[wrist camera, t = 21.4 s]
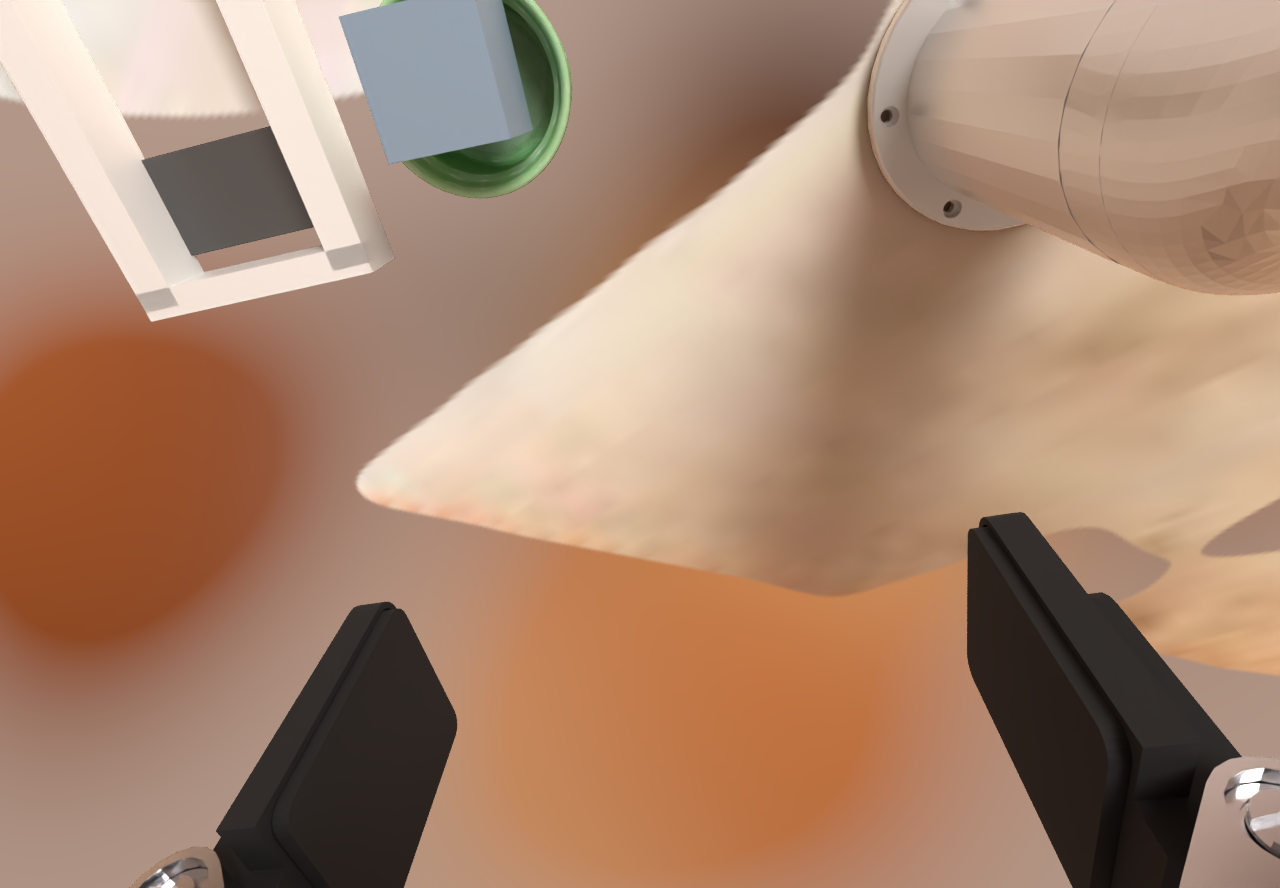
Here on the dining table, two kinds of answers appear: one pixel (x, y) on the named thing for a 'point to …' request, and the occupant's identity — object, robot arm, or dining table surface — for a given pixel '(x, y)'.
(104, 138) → the channel
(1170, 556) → the dining table surface
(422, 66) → the block
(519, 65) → the ramekin
